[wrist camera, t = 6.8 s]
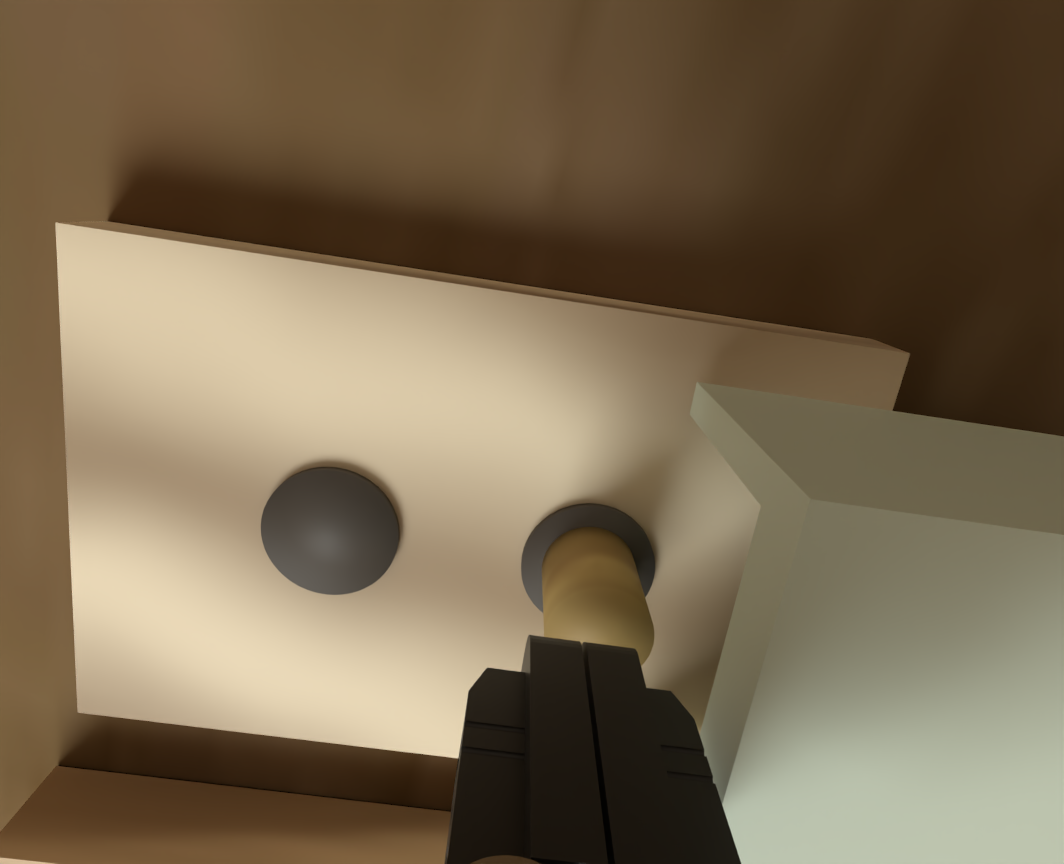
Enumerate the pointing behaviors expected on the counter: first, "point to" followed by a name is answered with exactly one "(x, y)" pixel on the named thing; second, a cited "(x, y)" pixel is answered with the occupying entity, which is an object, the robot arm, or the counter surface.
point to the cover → (890, 637)
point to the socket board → (210, 825)
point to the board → (393, 482)
